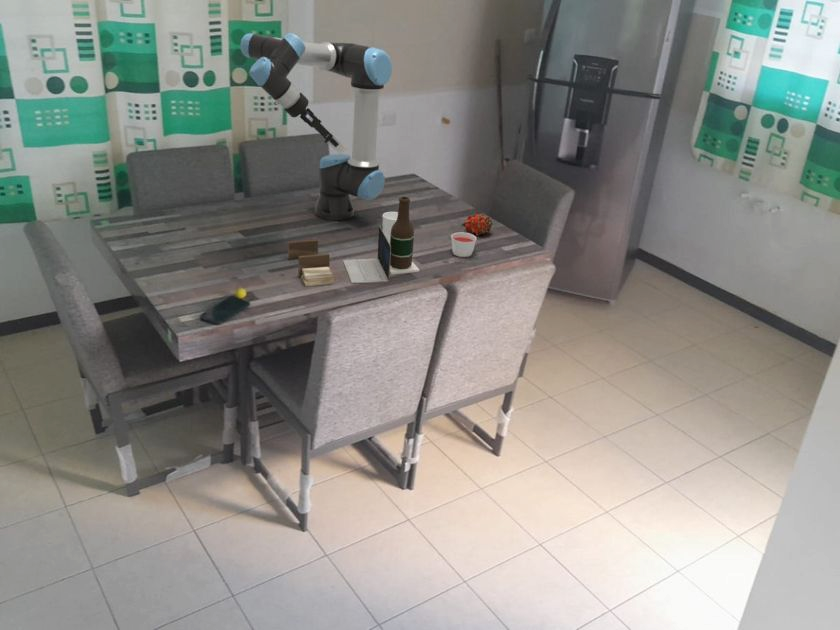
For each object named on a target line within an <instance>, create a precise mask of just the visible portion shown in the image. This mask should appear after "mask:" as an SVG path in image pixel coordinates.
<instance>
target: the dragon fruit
mask: <svg viewBox="0 0 840 630" xmlns="http://www.w3.org/2000/svg"><path fill="white" fill-rule="evenodd" d="M492 226H493V221H492V220H491V218H490V217H489V216H485V215H484V214H483V213H480V214H477V213H474V214H472V215H469V216H468V218H466V220H465V221H464V222H463V223H462V224H461V227H464V228H465V229H464V232H466V233H470V234H473V235H474V234H475V236H476V237H477V236H480V235H484V234H485V233H486V232H487V233H489V232H490V231H491V229H492Z"/></svg>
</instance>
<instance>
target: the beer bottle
mask: <svg viewBox="0 0 840 630" xmlns="http://www.w3.org/2000/svg"><path fill="white" fill-rule="evenodd" d="M398 201H399V203H398V211H397V212H398V217H397V221H396V222H395V223H394V224H393V226H392V229H391V236H390V245H391V258H390V265H391V266H392V267H393V268H397V269H408V268H409V267H410V266H411V265H412V262H413V255H414V254H413V251H414V240H415V238H414V237H415V234H414V233H415V232H414V228H413V225H412V222H410V202H411V199H410V198H409V197H408V196H400V197H399V198H398Z"/></svg>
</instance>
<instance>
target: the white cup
mask: <svg viewBox="0 0 840 630" xmlns="http://www.w3.org/2000/svg"><path fill="white" fill-rule="evenodd" d="M397 217H398V211H387V212H384V213H383V214H382V230H383V232H384V234H385V236H386V238H387V240H388V242H389V243H390V236H391V229H392V226H393V224H394V223H395V222H396V221H397Z"/></svg>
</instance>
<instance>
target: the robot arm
mask: <svg viewBox="0 0 840 630" xmlns="http://www.w3.org/2000/svg"><path fill="white" fill-rule="evenodd" d="M240 51H241V54H242V55H243V56H244V57H246V58H249V59H250V60H256V61H255V63H253V64H252V65H251V67H250V69H249V76H250V78H252V79H253V81H254V82H255V83H256V84H257V86H259V87H260V88H261V89H262V90H263V91H265V93H267V94H268V95H269V96H270V97H271V98H272V99H273V100H274V102H275V105H276V106H277V105H279V106H280V107H281V108H282V109H284V112H286V113H287V114H288V115H289V116H290V117H291V118H297V117H299V118H300V119H301V120H302V121H303V122H304V123H306V124H307V125H308V126H309V127H310V128H314V130H315V131H317V132H318V134H319V135H320V136H321V137H322V138H323V139H324V143H325V144H327V143H328V144H329V145H330V146H331V147H332V148H333V149H334V150H335V151H336V152H337V153H335V154H327V155H325V156H322V157H321V158H320V160H319V195H318V197H317V200H316V204H315V206H314V214H315V216H316V217H317V218H319V219H322V220H323V219H324V220H328V221H344V220H348V219H351V218H352V217H353V216H354V214H355V208H354V205H353V201H352V199H351V198H352V197H351V196H354V197H357V198H359V199H363V200H367V201H371V200H375V198H377V197H378V196H379V195H380V193H381V192H382V191H383V188H384V186H385V184H386V183H385V180H386V177H385V174H384V173H383V172H382V171H381V170H380V162H379V160H378V159H376V155H377V154H376V152H377V137H378V136H377V135H378V121H379V120H378V119H379V118H378V117H379V102H380V101H379V99H380V92H381V91H383V90H384V87H385V85H386V84H387V83H388V82H389V81H390V78H391V77H392V73H393V72H392V69H393V65H392V61H391V58H390V56H389V55H388V54H387V52H386V51H385V50H382V49H380V48H377V47H374V46H368V45H363V44H358V43H357V44H356V43H350V42H332V41H331V42H330V41H329V42H328V41H323V42H321V43H316V42H309V41H308V42H307V41H303V40H302V39H301V38H300V37H299V35H296V34H295V33H292V32H289V33H286V34H285V35H284V36H283V37H281V38H280V37H275V36H269V35H267V36H266V35H262V34H261V35H260V34H257V33H245V34H244V35H243V36H242V38H241V40H240ZM296 65H299V66H309V67H316V68H319V69H320V70H322V71H325V72H329V73H330V72H331V73H335V74H337V75H339V76H343V77H344V78H349V79H351V80H350V87H351V88H352V89H353V91H354V104H353V107H354V108H353V109H354V110H353V124H352V125H353V128H352V129H353V131H352V150H351V151H352V154H351V156H350V155H349V154H343V153H344V152H345V151H346V150H347V148H346V146H344V145H343V143H341V142H340V141H339V140H338V139H337V138H336V137H335V136H334V135H333V133H331V132H330V131H329V129H327V128H326V127H325V125H323V124H322V123H323V122H322V120H321V119H319V118H318V117H317V116H316V115H315V114H314V112H313V111H312V110H311V109H310V108H309V107H308V105H309V102H310V100H309V99H308V98H307V97H306V96H305V94H303V93H302V92H300V90H299V89H298V88H297V86H295V85H294V84H293V82H292V81H290V80H289V79H288V78H287V77H288V76H289V74H290V73H291V71H292V70H293V68H294V67H295V66H296ZM307 107H308V108H307Z"/></svg>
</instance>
